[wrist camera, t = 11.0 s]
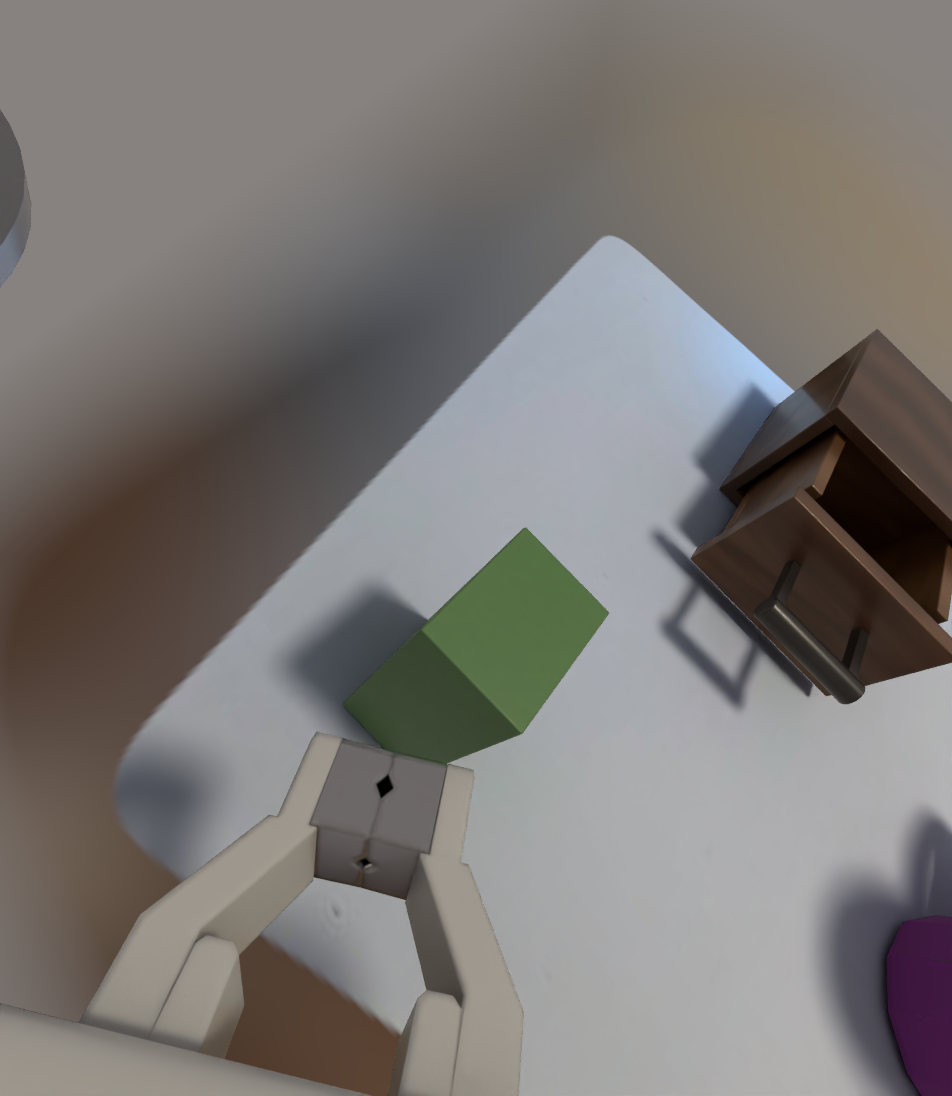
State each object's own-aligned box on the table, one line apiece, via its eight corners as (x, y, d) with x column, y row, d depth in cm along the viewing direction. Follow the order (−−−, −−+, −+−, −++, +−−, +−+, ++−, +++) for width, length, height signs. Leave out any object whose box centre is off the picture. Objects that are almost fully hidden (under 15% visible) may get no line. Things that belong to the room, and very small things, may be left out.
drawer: (806, 760, 32) (951, 734, 26) (657, 608, 32) (767, 549, 26) (865, 568, 43) (974, 521, 37) (754, 458, 43) (845, 393, 37)
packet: (341, 704, 23) (420, 629, 16) (428, 619, 27) (525, 526, 19) (411, 777, 23) (522, 734, 16) (489, 683, 26) (610, 612, 19)
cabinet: (847, 617, 41) (994, 562, 33) (719, 488, 41) (837, 406, 34) (879, 512, 50) (1001, 451, 42) (774, 407, 50) (877, 328, 43)
